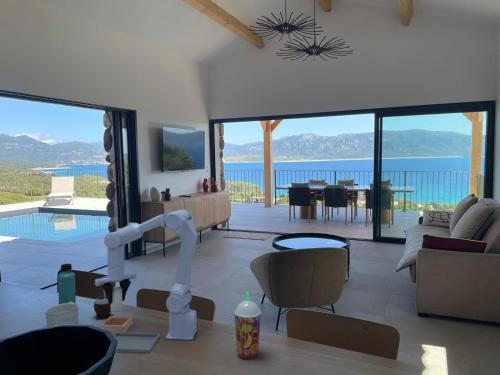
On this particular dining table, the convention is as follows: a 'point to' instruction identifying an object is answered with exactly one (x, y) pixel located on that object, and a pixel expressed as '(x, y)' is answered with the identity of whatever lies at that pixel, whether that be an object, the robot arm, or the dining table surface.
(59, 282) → the beverage bottle
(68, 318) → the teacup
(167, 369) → the dining table surface
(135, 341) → the tray
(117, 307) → the peg
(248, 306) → the smoothie
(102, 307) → the mate gourd
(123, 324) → the shallow square box
